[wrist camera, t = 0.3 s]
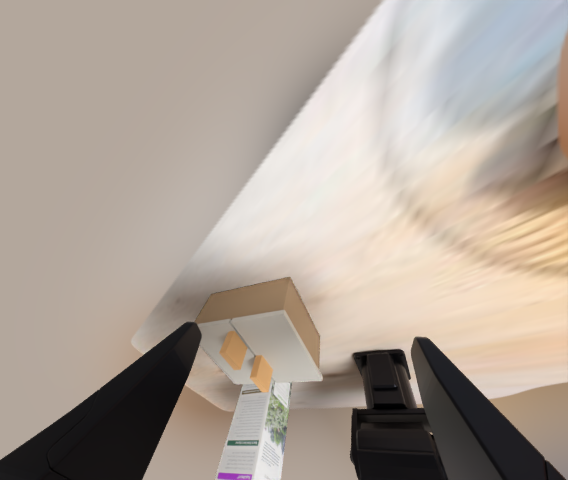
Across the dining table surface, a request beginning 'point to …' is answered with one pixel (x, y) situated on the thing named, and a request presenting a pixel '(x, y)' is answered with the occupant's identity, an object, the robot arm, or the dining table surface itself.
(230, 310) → the carton
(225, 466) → the syrup box
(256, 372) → the right cover
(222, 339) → the left cover
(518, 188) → the dining table surface
